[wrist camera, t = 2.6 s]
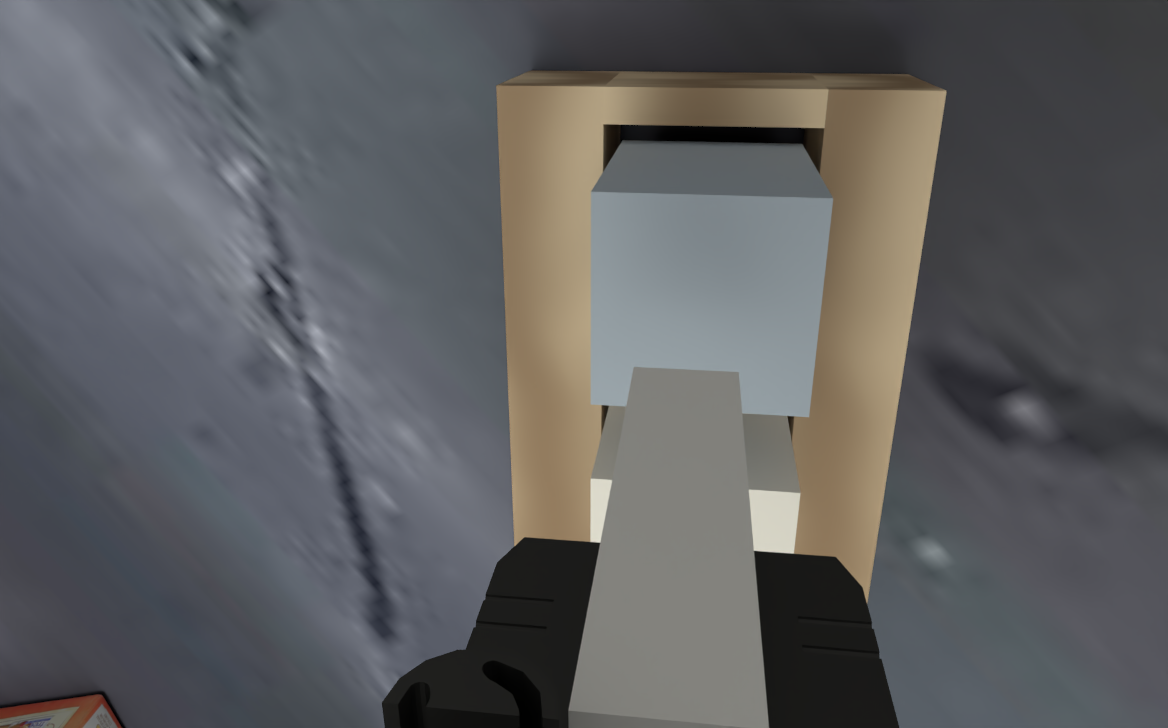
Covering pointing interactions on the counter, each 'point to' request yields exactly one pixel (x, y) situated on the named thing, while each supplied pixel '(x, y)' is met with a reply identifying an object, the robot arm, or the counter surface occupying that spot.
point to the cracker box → (61, 714)
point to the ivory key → (766, 471)
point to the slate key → (709, 268)
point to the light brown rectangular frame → (850, 294)
